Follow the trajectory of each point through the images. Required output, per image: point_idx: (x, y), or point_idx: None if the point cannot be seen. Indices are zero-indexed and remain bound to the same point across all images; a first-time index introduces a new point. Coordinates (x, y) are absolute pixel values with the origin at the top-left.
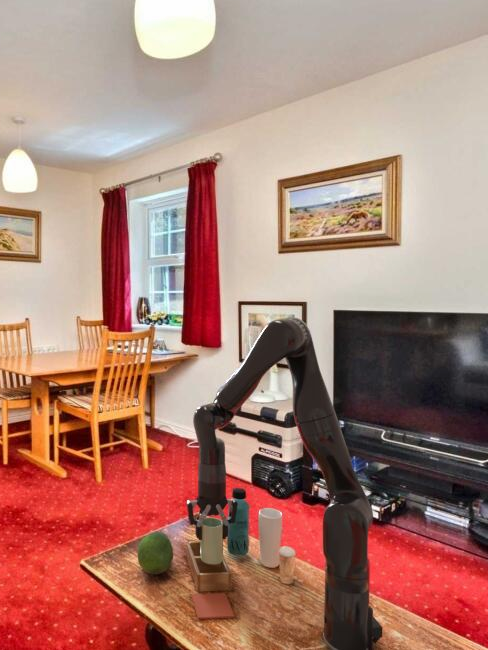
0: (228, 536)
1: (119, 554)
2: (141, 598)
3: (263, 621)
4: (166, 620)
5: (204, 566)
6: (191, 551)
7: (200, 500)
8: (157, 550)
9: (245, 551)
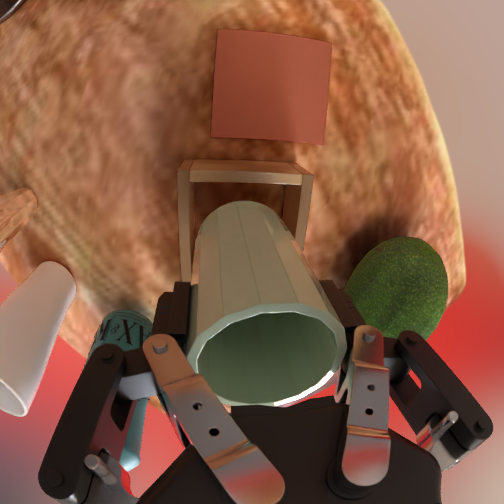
0: None
1: None
2: (434, 165)
3: (137, 16)
4: (404, 68)
5: None
6: None
7: (433, 490)
8: (427, 278)
9: (107, 317)
